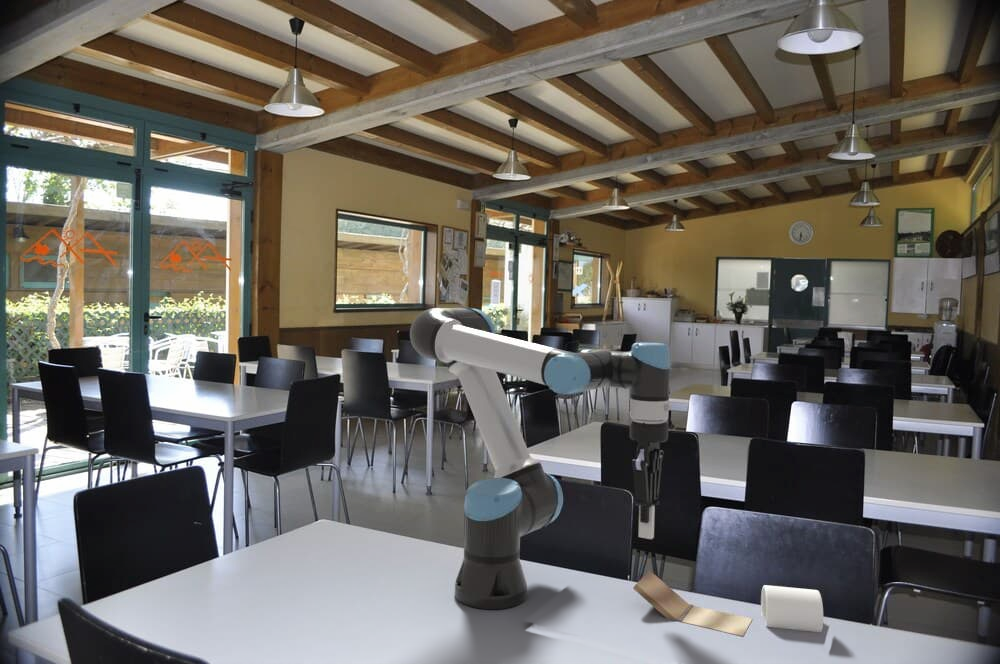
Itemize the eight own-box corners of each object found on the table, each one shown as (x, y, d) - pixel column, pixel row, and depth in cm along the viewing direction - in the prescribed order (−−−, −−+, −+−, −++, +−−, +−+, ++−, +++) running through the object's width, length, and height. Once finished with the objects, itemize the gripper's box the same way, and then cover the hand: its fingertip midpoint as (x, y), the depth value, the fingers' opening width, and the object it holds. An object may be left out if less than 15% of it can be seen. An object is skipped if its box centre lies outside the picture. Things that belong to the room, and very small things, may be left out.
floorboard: (678, 627, 143) (678, 619, 143) (690, 611, 151) (690, 604, 151) (742, 643, 137) (742, 635, 137) (751, 625, 145) (752, 618, 145)
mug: (822, 642, 139) (824, 600, 138) (766, 636, 141) (767, 594, 140) (809, 615, 151) (811, 576, 150) (757, 609, 153) (759, 571, 152)
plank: (632, 588, 147) (636, 583, 147) (646, 574, 155) (649, 570, 155) (674, 624, 144) (677, 620, 143) (686, 609, 151) (689, 604, 151)
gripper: (657, 426, 142) (654, 549, 143) (677, 417, 153) (673, 531, 154) (619, 423, 145) (616, 542, 146) (641, 414, 157) (638, 525, 158)
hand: (646, 537), depth 150 cm, fingers closed
